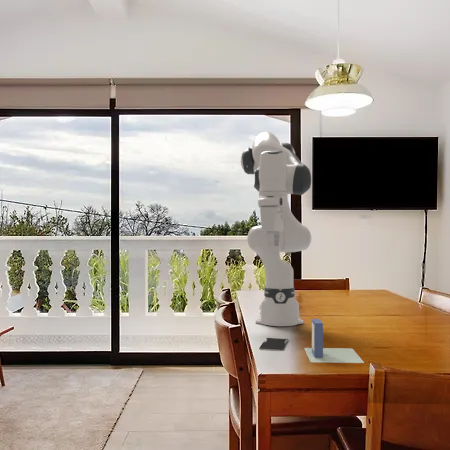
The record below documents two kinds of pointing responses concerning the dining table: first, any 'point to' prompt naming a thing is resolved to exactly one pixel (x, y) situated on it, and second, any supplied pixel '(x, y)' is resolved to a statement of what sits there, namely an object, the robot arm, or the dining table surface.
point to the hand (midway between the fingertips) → (273, 246)
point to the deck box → (317, 338)
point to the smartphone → (274, 344)
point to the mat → (335, 355)
